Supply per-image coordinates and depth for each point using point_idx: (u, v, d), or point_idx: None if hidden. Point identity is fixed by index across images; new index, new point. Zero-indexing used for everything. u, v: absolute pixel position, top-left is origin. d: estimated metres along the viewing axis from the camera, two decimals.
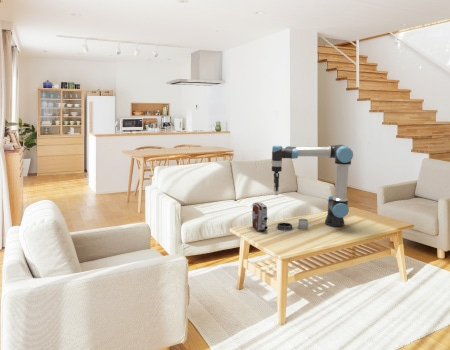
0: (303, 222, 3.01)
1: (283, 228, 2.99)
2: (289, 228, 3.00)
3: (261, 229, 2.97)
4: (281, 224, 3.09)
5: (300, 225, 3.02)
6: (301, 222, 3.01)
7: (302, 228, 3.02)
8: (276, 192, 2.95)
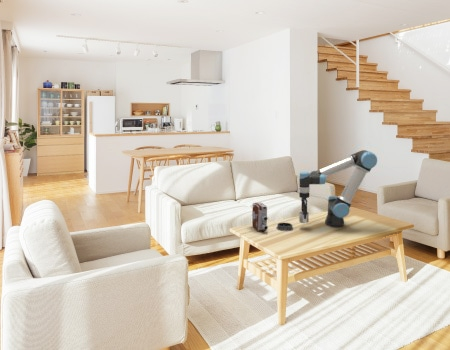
0: None
1: (283, 228, 2.99)
2: (289, 228, 3.00)
3: (261, 229, 2.97)
4: (281, 224, 3.09)
5: (301, 218, 3.01)
6: (302, 215, 3.00)
7: None
8: (304, 220, 2.99)
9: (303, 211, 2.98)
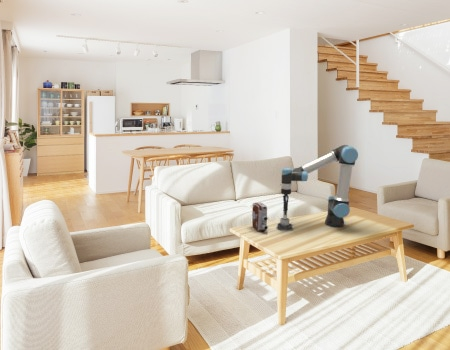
0: (285, 221, 3.00)
1: (283, 228, 2.99)
2: (289, 228, 3.00)
3: (261, 229, 2.97)
4: None
5: (282, 224, 3.02)
6: (283, 221, 3.01)
7: None
8: (285, 216, 3.02)
9: (284, 207, 3.00)
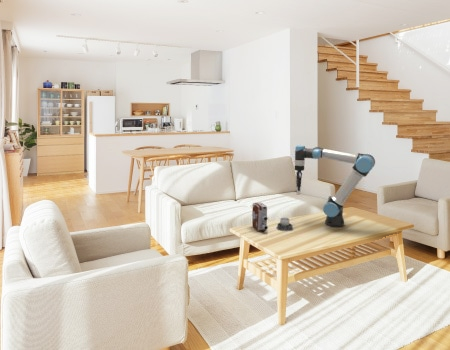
0: (285, 221, 3.00)
1: (283, 228, 2.99)
2: (289, 228, 3.00)
3: (261, 229, 2.97)
4: None
5: (282, 224, 3.02)
6: (283, 221, 3.01)
7: None
8: (298, 192, 3.12)
9: (297, 183, 3.10)
